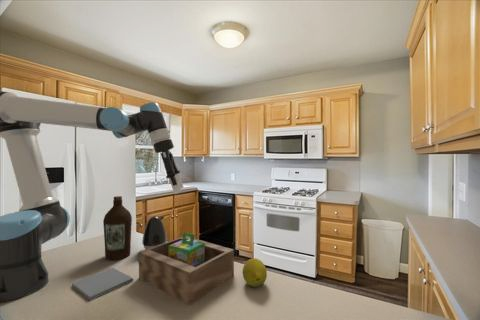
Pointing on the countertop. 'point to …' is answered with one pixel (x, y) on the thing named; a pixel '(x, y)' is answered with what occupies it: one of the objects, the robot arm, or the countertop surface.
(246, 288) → the countertop surface
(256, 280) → the lemon
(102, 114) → the robot arm
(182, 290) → the walnut box
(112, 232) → the olive oil
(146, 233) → the pump dispenser
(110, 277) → the slate mat
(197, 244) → the chalk box
